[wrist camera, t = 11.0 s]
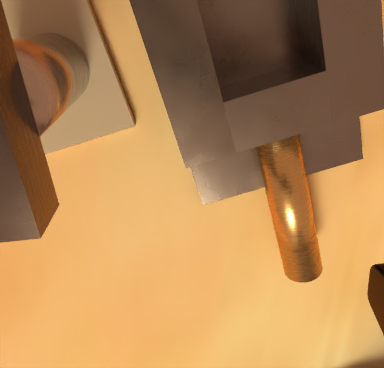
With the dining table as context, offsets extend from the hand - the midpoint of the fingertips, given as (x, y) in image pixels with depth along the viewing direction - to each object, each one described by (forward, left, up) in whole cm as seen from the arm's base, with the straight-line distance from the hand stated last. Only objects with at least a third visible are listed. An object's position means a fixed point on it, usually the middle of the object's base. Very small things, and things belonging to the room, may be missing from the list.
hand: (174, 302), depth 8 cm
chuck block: (+1, +5, -14) cm, 15 cm away
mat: (-5, -5, -14) cm, 15 cm away
